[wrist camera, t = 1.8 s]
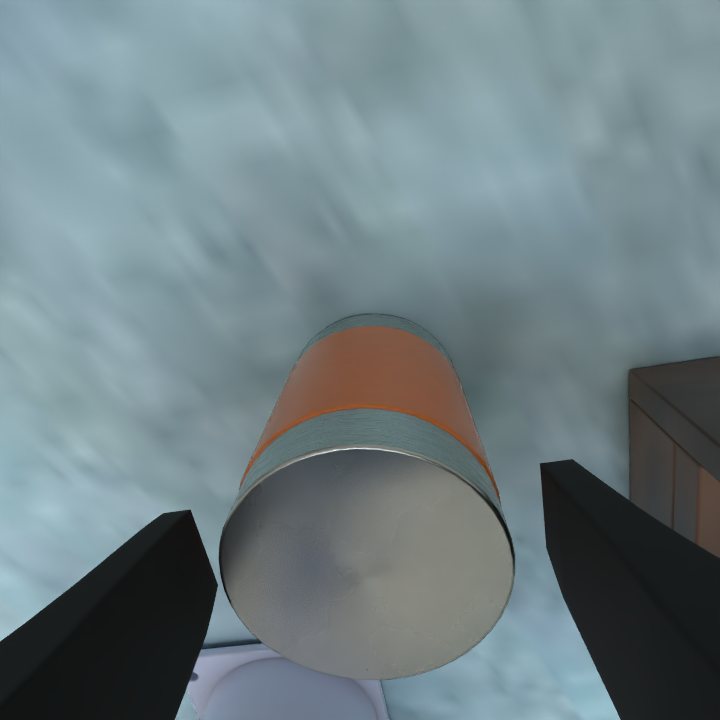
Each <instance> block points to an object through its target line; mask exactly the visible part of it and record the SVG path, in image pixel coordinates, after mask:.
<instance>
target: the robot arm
mask: <svg viewBox="0 0 720 720" xmlns="http://www.w3.org/2000/svg"><path fill="white" fill-rule="evenodd" d="M540 470H541V483H542V496H543V509H544V522H545V535H546V548H547V551H548V554H549V557H550V560H551V563H552V566H553V569H554V572H555V575H556V578H557V581H558V584H559V587H560V589H561V592H562V595H563V598H564V600H565V602H566V604H567V606H568V609H569V611H570V613H571V615H572V617H573V619H574V621H575V624H576V626H577V628H578V630H579V632H580V634H581V636H582V639H583V641H584V643H585V645H586V647H587V649H588V651H589V653H590V655H591V658H592V660H593V662H594V664H595V666H596V668H597V670H598V672H599V674H600V677H601V679H602V681H603V683H604V685H605V687H606V689H607V691H608V693H609V696H610V698H611V700H612V702H613V704H614V706H615V708H616V710H617V712H618V715H619V717H620V719H621V720H720V558H719V557H717V556H715V555H713V554H712V553H710V552H708V551H707V550H705V549H703V548H702V547H700V546H698V545H697V544H695V543H693V542H692V541H690V540H689V539H687V538H685V537H684V536H682V535H680V534H679V533H677V532H675V531H674V530H672V529H671V528H669V527H668V526H666V525H665V524H663V523H661V522H660V521H658V520H657V519H655V518H654V517H652V516H651V515H649V514H648V513H646V512H645V511H644V510H642V509H641V508H639V507H638V506H636V505H635V504H633V503H632V502H630V501H629V500H628V499H626V498H625V497H623V496H622V495H621V494H619V493H618V492H616V491H615V490H614V489H612V488H611V487H610V486H608V485H607V484H605V483H604V482H603V481H601V480H600V479H599V478H597V477H596V476H595V475H593V474H592V473H590V472H589V471H588V470H586V469H585V468H584V467H582V466H581V465H580V464H578V463H577V462H575V461H574V460H573V459H571V460H563V461H556V462H548V463H540ZM217 587H218V584H217V581H216V578H215V576H214V573H213V570H212V567H211V565H210V562H209V559H208V556H207V554H206V551H205V548H204V545H203V543H202V540H201V537H200V534H199V532H198V529H197V526H196V523H195V521H194V518H193V515H192V512H191V510H185V511H177V512H170V513H163V514H162V515H160V516H159V517H157V518H156V519H155V520H153V521H152V522H151V523H149V524H148V525H147V526H145V527H144V528H143V529H142V530H140V531H139V532H138V533H137V534H135V535H134V536H133V537H132V538H130V539H129V540H128V541H127V542H126V543H124V544H123V545H122V546H121V547H120V548H118V549H117V550H116V551H115V552H114V553H112V554H111V555H110V556H109V557H107V558H106V559H105V560H104V561H103V562H101V563H100V564H99V565H98V566H97V567H95V568H94V569H93V570H92V571H91V572H89V573H88V574H87V575H86V576H84V577H83V578H82V579H81V580H80V581H78V582H77V583H76V584H75V585H74V586H72V587H71V588H70V589H68V590H67V591H66V592H65V593H63V594H62V595H61V596H59V597H58V598H57V599H56V600H54V601H53V602H52V603H50V604H49V605H48V606H47V607H45V608H44V609H43V610H41V611H40V612H39V613H38V614H36V615H35V616H34V617H32V618H31V619H30V620H29V621H27V622H26V623H25V624H23V625H22V626H21V627H19V628H18V629H17V630H15V631H14V632H13V633H11V634H10V635H9V636H7V637H6V638H4V639H3V640H2V641H0V720H175V717H176V715H177V712H178V709H179V707H180V704H181V701H182V699H183V696H184V694H185V691H186V689H187V692H188V694H189V696H190V699H191V701H192V703H193V706H194V708H195V710H196V713H197V715H198V717H199V720H389V715H388V711H387V707H386V703H385V699H384V695H383V691H382V687H381V682H380V680H354V679H347V678H340V677H335V676H331V675H327V674H323V673H319V672H316V671H313V670H310V669H308V668H305V667H302V666H300V665H298V664H296V663H294V662H291V661H289V660H287V659H286V658H284V657H282V656H281V655H279V654H277V653H276V652H274V651H273V650H271V649H270V648H269V647H267V646H266V645H265V644H263V643H261V644H251V645H241V646H231V647H221V648H211V649H202V650H201V648H202V645H203V642H204V640H205V637H206V634H207V630H208V626H209V622H210V618H211V614H212V610H213V606H214V601H215V597H216V592H217Z"/></svg>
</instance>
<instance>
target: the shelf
mask: <svg viewBox="0 0 720 720" xmlns="http://www.w3.org/2000/svg"><path fill="white" fill-rule="evenodd" d="M629 380H630V398H631V399H630V502H632V503H633V504H635V505H636V506H638V507H639V508H641V509H642V510H644V511H645V512H646V513H648V514H649V515H651V516H652V517H654V518H655V519H657V520H658V521H660V522H661V523H663V524H665V525H666V526H668V527H669V528H671V529H672V530H674V531H675V532H677V533H679V534H680V535H682V536H684V537H685V538H687V539H689V540H690V541H692V542H693V543H695V544H697V545H698V546H700V547H702V548H703V549H705V550H707V551H708V552H710V553H712V554H713V555H715V556H717V557H719V558H720V357H714V358H707V359H700V360H693V361H687V362H680V363H673V364H667V365H660V366H653V367H647V368H640V369H633V370H630V372H629Z"/></svg>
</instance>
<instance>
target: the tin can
mask: <svg viewBox="0 0 720 720" xmlns="http://www.w3.org/2000/svg"><path fill="white" fill-rule="evenodd" d="M219 566H220V575H221V579H222V583H223V587H224V590H225V593H226V595H227V597H228V600H229V602H230V604H231V606H232V608H233V609H234V611H235V612H236V614H237V616H238V617H239V619H240V620H241V621H242V622H243V624H244V625H245V626H246V627H247V628H248V630H249V631H250V632H251V633H252V634H253V635H254V636H255V637H257V638H258V639H259V640H260V641H261V642H262V643H263V644H265V645H266V646H267V647H269V648H270V649H271V650H273V651H274V652H276V653H277V654H279V655H281V656H282V657H284V658H286V659H287V660H289V661H291V662H294V663H296V664H298V665H300V666H302V667H305V668H308V669H310V670H313V671H316V672H319V673H323V674H327V675H331V676H335V677H340V678H347V679H354V680H390V679H398V678H405V677H410V676H414V675H418V674H422V673H425V672H428V671H431V670H434V669H437V668H439V667H442V666H444V665H446V664H448V663H450V662H452V661H454V660H456V659H457V658H459V657H461V656H462V655H464V654H465V653H467V652H468V651H470V650H471V649H472V648H473V647H475V646H476V645H477V644H478V643H480V642H481V641H482V640H483V639H484V638H485V637H486V635H487V634H488V633H489V632H490V631H491V630H492V629H493V627H494V626H495V625H496V623H497V622H498V620H499V619H500V618H501V616H502V614H503V612H504V610H505V608H506V606H507V604H508V601H509V598H510V595H511V592H512V589H513V583H514V577H515V553H514V548H513V542H512V538H511V535H510V532H509V529H508V526H507V523H506V520H505V517H504V515H503V512H502V509H501V502H500V497H499V492H498V489H497V486H496V483H495V480H494V477H493V475H492V472H491V469H490V466H489V463H488V460H487V457H486V454H485V452H484V449H483V446H482V443H481V440H480V437H479V434H478V431H477V428H476V426H475V423H474V420H473V417H472V414H471V411H470V408H469V405H468V403H467V400H466V397H465V394H464V391H463V388H462V385H461V383H460V380H459V378H458V376H457V374H456V372H455V370H454V367H453V365H452V362H451V360H450V358H449V356H448V354H447V353H446V351H445V350H444V348H443V347H442V346H441V344H440V343H439V342H438V341H437V340H436V339H435V338H434V337H433V336H432V335H431V334H429V333H428V332H427V331H425V330H424V329H423V328H421V327H419V326H418V325H416V324H414V323H412V322H409V321H407V320H405V319H402V318H398V317H395V316H389V315H383V314H366V315H357V316H353V317H349V318H346V319H343V320H340V321H338V322H336V323H334V324H332V325H330V326H328V327H327V328H325V329H324V330H322V331H321V332H320V333H318V334H317V335H316V336H315V337H314V338H313V339H312V340H311V341H310V342H309V343H308V345H307V346H306V347H305V348H304V350H303V352H302V353H301V355H300V357H299V358H298V361H297V363H296V364H295V366H294V367H293V369H292V371H291V373H290V374H289V377H288V379H287V381H286V383H285V385H284V387H283V390H282V392H281V394H280V396H279V398H278V401H277V403H276V405H275V407H274V409H273V412H272V414H271V416H270V418H269V420H268V422H267V425H266V427H265V429H264V431H263V433H262V436H261V438H260V440H259V442H258V444H257V447H256V449H255V451H254V453H253V455H252V457H251V460H250V462H249V464H248V466H247V468H246V471H245V473H244V476H243V478H242V481H241V484H240V488H239V492H238V495H237V497H236V499H235V501H234V503H233V506H232V508H231V510H230V512H229V515H228V517H227V520H226V522H225V525H224V527H223V530H222V535H221V539H220V545H219Z"/></svg>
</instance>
